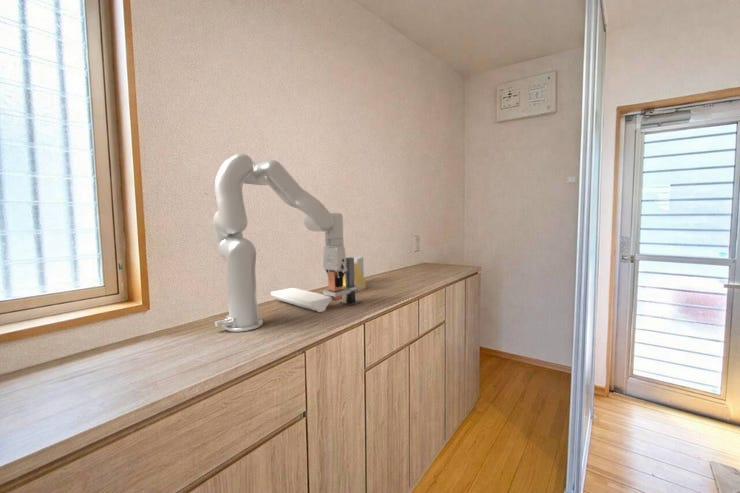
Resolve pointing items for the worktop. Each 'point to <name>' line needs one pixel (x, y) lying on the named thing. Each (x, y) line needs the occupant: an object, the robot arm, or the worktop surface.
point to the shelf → (303, 298)
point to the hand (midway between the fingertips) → (335, 285)
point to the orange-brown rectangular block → (333, 284)
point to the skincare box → (359, 263)
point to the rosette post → (347, 285)
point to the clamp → (356, 277)
